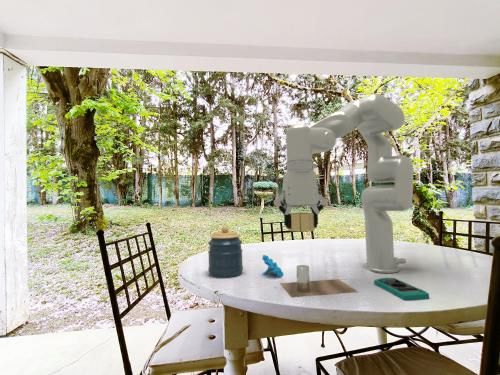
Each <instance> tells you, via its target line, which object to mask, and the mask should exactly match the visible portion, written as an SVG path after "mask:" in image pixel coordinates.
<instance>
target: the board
mask: <svg viewBox="0 0 500 375" xmlns="http://www.w3.org/2000/svg"><path fill="white" fill-rule="evenodd" d="M309 283H310V291H309V292H307V293H301V292H298V291H297V281H296V282H295V281H292V282H280V283H279V285H280V286H281V287H282V288H283V290H284V291H286V293H287V294H288V296H290V297H291V298H299V297H300V298H302V297H312V296H327V295H338V294H350V293H351V294H352V293H360V291H359V290H357V289H355V288H353V287H352V286H350V285H348V284H347V283H346V282H344V281H342V280H341V279H339V278H337V279H336V278H335V279H324V280H323V279H321V280H309Z"/></svg>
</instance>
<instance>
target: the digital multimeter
mask: <svg viewBox="0 0 500 375" xmlns="http://www.w3.org/2000/svg"><path fill="white" fill-rule="evenodd" d="M374 286H375V287H378V288H380V289H382V290H383V291H386V292H388V293H390V294H391V295H393V296H395V297H397V298H398V299H401V300H403V301H421V300H429V299H430V293H428V292H427V291H426V290H423V289H420V288H418V287H416V286H413V285H410V284H408V283H406V282H404V281H402V280H400V279H398V278H396V277H380V278H376V279H375V280H374Z"/></svg>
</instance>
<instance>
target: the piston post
mask: <svg viewBox="0 0 500 375" xmlns="http://www.w3.org/2000/svg"><path fill="white" fill-rule="evenodd" d="M309 281H310V267H309V265H305V264H299V265H296V282H297V291H298V292H301V293H307V292H309V291H310V283H309Z"/></svg>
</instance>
